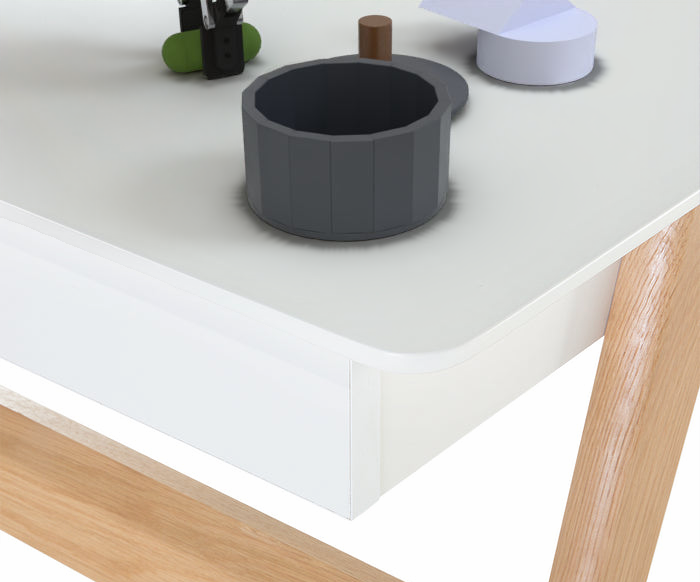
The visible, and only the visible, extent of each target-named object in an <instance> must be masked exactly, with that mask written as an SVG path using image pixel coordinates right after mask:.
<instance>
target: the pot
mask: <svg viewBox="0 0 700 582" xmlns="http://www.w3.org/2000/svg"><path fill="white" fill-rule="evenodd" d="M330 58H331V59H328V58H317V59H311V60H306V61H302V62H296V63H292V64H286V65H283V66H281V67H278V68H276V69H273V70H271V71H269V72H266V73H264V74H261V75H258V77H256V78H255V79H254V80H253V81H252V82H251V83H250V84H249V85H248V86H246V88H245V89H244V90H242V92H241V107H240V109H241V123H242V137H243V153H244V169H245V171H244V172H245V185H246V187H245V188H246V197H247V200H248V203H249V206H250V208H251V210H252V211H253V212H254V213H255V214H256V216H258V218H260V219H261V220H262V221H264V223H267V224H268V225H270V226H272V227H274V228H276V229H278V230H281V231H283V232H286V233H289V234H292V235H296V236H299V237H304V238H309V239H316V240H323V241H334V242H337V241H338V242H348V241H349V242H355V241H368V240H375V239H381V238H387V237H391V236H395V235H398V234H402V233H405V232H408V231H411V230H413V229H415V228H417V227H419V226H421V225H423V224H425V223H427V222H428V221H430V220H431V219H432V218H433V217H434V216H436V215H437V214H438V213H439V211H440V210H441V209H442V208H443V206H444V204H445V202H446V199H447V193H448V191H449V180H450V179H449V178H450V177H449V175H450V151H451V150H450V149H451V128H452V126H451V125H452V117H451V104H452V102H451V99H450V95H449V92H448V89H447V86H446V85H445V84H444V83H443V82H441V81H440V80H438V79H437V78H435V77H434V76H433V75H431V74H430V73H428V72H427V71H424V70H421V69H418V68H414V67H411V66H408V65H405V64H402V63H399V62H392V61H383V60H375V59H367V58H333V57H330Z"/></svg>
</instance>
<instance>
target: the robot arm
mask: <svg viewBox="0 0 700 582" xmlns="http://www.w3.org/2000/svg"><path fill="white" fill-rule="evenodd" d="M177 4H178V5H179V6H180V7H178V20H179V30H180V32H186V31H192V30H197V29H200V40H201V53H202V65H203V69H202V73H203V76H204V77H205V78H206V79H208V80H213V79H217V78H222V77H228V76H232V75H238V74H242V73H243V72H244V71H245V68H246V67H245V62H244V49H243V32H242V24H243V22H244V14H243V13H244V12H243V9H244V8H245V7H246V6H247V4H249V0H215V1H214V0H177ZM180 32H179V33H180Z"/></svg>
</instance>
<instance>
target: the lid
mask: <svg viewBox="0 0 700 582" xmlns="http://www.w3.org/2000/svg"><path fill="white" fill-rule="evenodd" d="M357 44H358V45H357V49H358V50H357V52H358V53H355V54H345V55H339V56H333V57H328V58H327V59H331V58H367V59H375V60H383V61H392V62H399V63H402V64H405V65H408V66H411V67H414V68H418V69H421V70H424V71H427V72H428V73H430V74H431V75H433V76H434V77H435V78H437V79H438V80H440V81H441V82H443V83H444V84H445V85H446V86H447V89H448V92H449V95H450V99H451V102H452V104H451V118H452V117H454V116H456V115H457V114H458V113H460V112H461V111H462V110H463V109H464V108H465V107H466V105H467V103H468V101H469V97H470V87H469V84H468V82H467V80H466V78H464V77H463V76H462V74H460V73H459V72H458V71H456V70H454V69H453V68H451V67H449V66H447V65H445V64H443V63H440V62H437V61H434V60H432V59H431V60H430V59H427V58H423V57H418V56H413V55H408V54H407V55H406V54H399V53H398V54H397V53H393V20H392V18H391V17H389V16H387V15H383V14H382V15H381V14H368V15H365V16H361V17H360V18H358V20H357Z"/></svg>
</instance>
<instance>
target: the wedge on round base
mask: <svg viewBox="0 0 700 582" xmlns="http://www.w3.org/2000/svg"><path fill="white" fill-rule="evenodd" d="M418 8H420V9H423V10H424V11H425V10H426V11H428V12H431V13H434V14H436V15H440V16H442V17H444V18H447V19H451V20H454V21H456V22H459V23H462V24H465V25H468V26H470V27H473V28H475V29H476V28H477V42H476V43H477V45H476V66H477V68H479V69H480V71H481V72H482V73H484V74H486V75H488V76H489V77H492V78H494V79H497V80H500V81H503V82H507V83H511V84H518V85H526V86H527V85H528V86H554V85H562V84H567V83H572V82H575V81H578V80H580V79H583V78H585V77H587V76H588V75H589V74H590V73H591V72H592V71H593V68H594V63H595V61H594V60H595V51H596V41H597V32H598V20H597V18H596V17H595V16H594V15H593V14H592V13H590V12H588V11H587V10H584V9H582V8H580V7H577V6H575V4H573V3H572V2H571V1H570V0H422V1H421V2H420V4H419V5H418Z"/></svg>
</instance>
